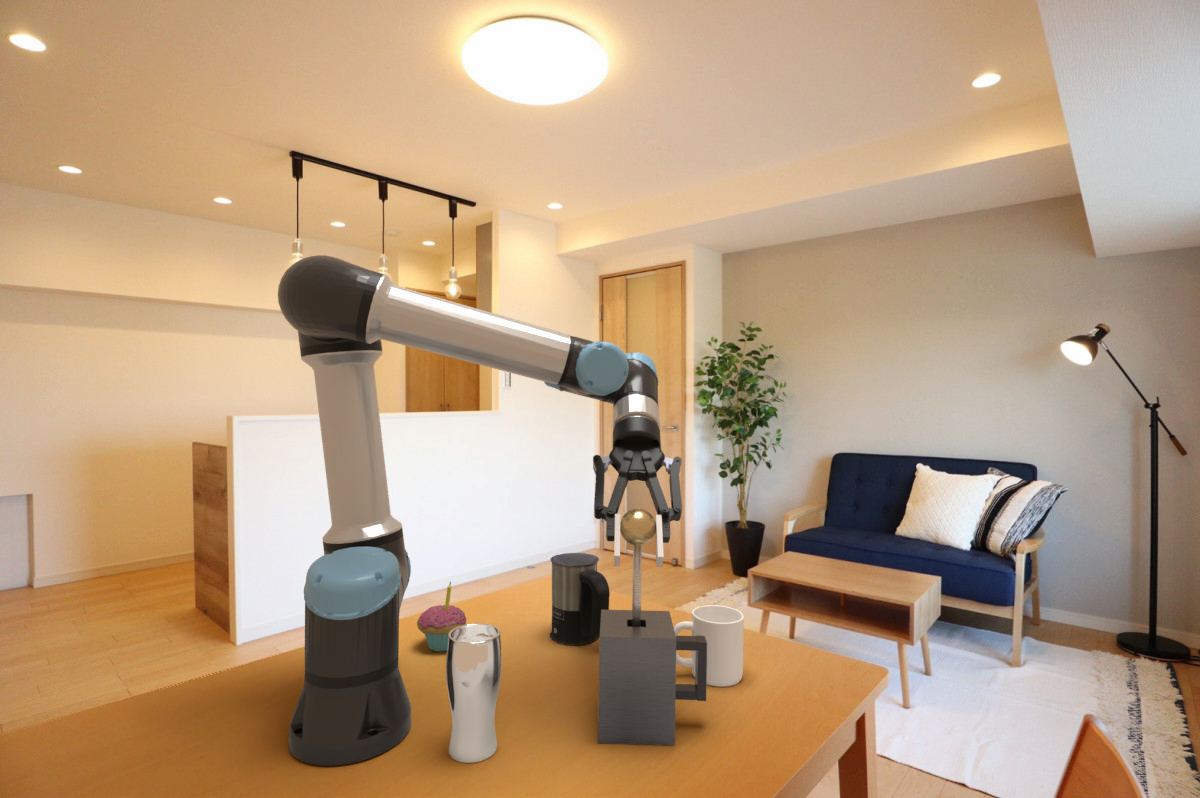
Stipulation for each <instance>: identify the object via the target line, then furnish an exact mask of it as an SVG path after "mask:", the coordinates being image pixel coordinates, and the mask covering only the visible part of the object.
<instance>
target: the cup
mask: <svg viewBox="0 0 1200 798" xmlns="http://www.w3.org/2000/svg"><path fill="white" fill-rule="evenodd" d="M744 620H745V619H744V614H743V613H742V612H741V611H740V610H739V609H736V608H733V607H729V606H726V605H725V606H724V605H719V604H708V605H700V606H697V607H695V608H694V609H693V610H691V621H688V620H687V621H686V620H685V621H680V622H677V623H676V624H675V625H673V628H674V631H675V635H676V636H679V633H680V632H681V631H682V630H688V631H691V636H705V639H706V641H707V680H706V686H711V687H717V688H718V687H719V688H721V687H722V688H724V687H725V688H727V687H732V686H735V685H737V684H739V683H740V682H741V680H742V678H743V673H744V628H745V627H744V622H745V621H744ZM690 652H691V653H690V654H691V657H681V656H680V655H679V654H678V650H676V664H678V665H680V666H682V667H686V668H687V667H688V668H690V667H691V673H692V676H693V677H694V678H695V660H696V651H692V650H690Z"/></svg>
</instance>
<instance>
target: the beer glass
mask: <svg viewBox="0 0 1200 798" xmlns="http://www.w3.org/2000/svg"><path fill="white" fill-rule="evenodd" d="M445 658H446V659H445V661H446V662H445V679H446V688H447V694H448V701H449V707H450V712H451V713H450V714H451V723H452V724H451V733H450V734H451V735H450V740H449V746H448V754H449V756H450V757H451V758H452V759H453V760H454V761H456V762H459V763H463V764H474V763H479V762H482V761H485V760H487V759H489V758H491V757H492V756H493V755H494V754H495V753H496V751H497V748H498V739H497V733H496V727H495V713H496V706H497V701H498V697H499V690H500V685H501V677H502V661H503V660H502V642H501V629H500V628H499V627H498V626H496V625H494V624H489V623H485V622H484V623H482V622H481V623H480V622H475V623H473V622H472V623H466V624H465V625H461V626H458V627H456V628H454V629H452V630H451V631H450V632H449V634H448V646H447V651H446V657H445Z"/></svg>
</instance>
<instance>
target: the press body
mask: <svg viewBox="0 0 1200 798" xmlns="http://www.w3.org/2000/svg"><path fill="white" fill-rule="evenodd" d="M598 646H599V653H598V654H599V656H598V658H599V659H598V660H599V661H598V662H599V663H598V721H597V722H598V725H597V726H598V730H597V731H598V735H597V736H598V737H597V741H598V742H597V744H603V745H605V744H607V745H611V744H612V745H639V746H640V745H643V746H647V745H648V746H650V745H651V746H675V745H676V743H675V742H676V741H675V740H676V701H677V700H679V701H697V702H707V684H706V680H707V641H706V639H705V636H692V635H678V636H676V635H675V631H674V624H673V621H672V617H671V612H670V610H642V609H641V627H632V609H630V610H629V609H627V610H626V609H609V610H601V623H600V637H599V645H598ZM676 650H677V651H691V650H692V651H696V660H695V677H694V684H693V683H689V684H688V683H676V681H677V680H676V679H677V663H676Z"/></svg>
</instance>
